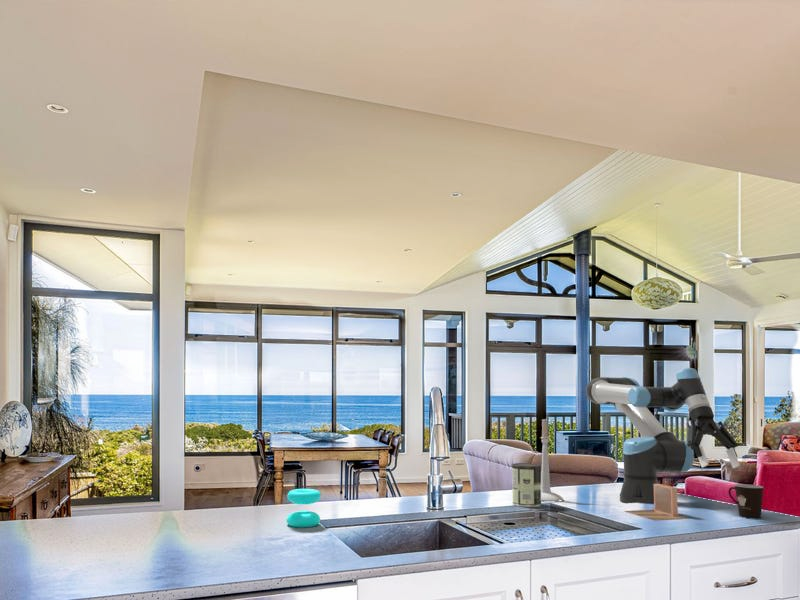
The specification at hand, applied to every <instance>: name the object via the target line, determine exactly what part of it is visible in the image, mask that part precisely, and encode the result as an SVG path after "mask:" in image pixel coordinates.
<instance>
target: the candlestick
mask: <svg viewBox="0 0 800 600" xmlns="http://www.w3.org/2000/svg"><path fill="white" fill-rule="evenodd" d="M548 426H549V425H548V419H546V418H544V419H541V427H542V429H541V437H539V438H540V439H541V443H542V448H541V449H542V450H541V453H542V454H541V501H559V500H564V498H563V496H561V495H560V494H558V493H556V492H553V491H552V490H551V484H550V483H551V482H550V481H551V479H550V477H551V476H550V465H549V448H548V443H549V441H550V440H549V439H550V437H549V436H548V435H549V434H548V430H549V429H548Z"/></svg>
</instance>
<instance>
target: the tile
mask: <svg viewBox="0 0 800 600" xmlns="http://www.w3.org/2000/svg"><path fill="white" fill-rule="evenodd" d="M653 507H654V509H653V510H654V511H656V512H659V513H663V514H667V515H670V516H678V515H679V510H678V509H679V507H678V487H676V486H671V485H666V484H662V483H658V484H654V503H653Z"/></svg>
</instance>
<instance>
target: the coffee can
mask: <svg viewBox="0 0 800 600" xmlns="http://www.w3.org/2000/svg"><path fill="white" fill-rule="evenodd" d="M511 470H512V472H511V476H512V477H511V479H512V480H511V481H512V483H511V484H512V486H511V488H512V489H511V490H512V492H511V493H512V504H511V505H513V506H515V505H516V506H515V507H521V508H539V507H541V506H542V502H541V470H542V464H538V463H532V462H530V463H529V462H518V463H512V464H511Z"/></svg>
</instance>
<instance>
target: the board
mask: <svg viewBox="0 0 800 600" xmlns="http://www.w3.org/2000/svg"><path fill="white" fill-rule="evenodd" d="M623 512H625V513H628V514H631V515H635V516H639V517H641V518H645V519H649V520H652V521H656V522H657V521H670V520H688V519H689V520H691V519H692V518H691V517H688V516H684V515H680V514H678V516H670V515H667V514H663V513H659V512H656V511H654V509H640V510H623Z"/></svg>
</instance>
